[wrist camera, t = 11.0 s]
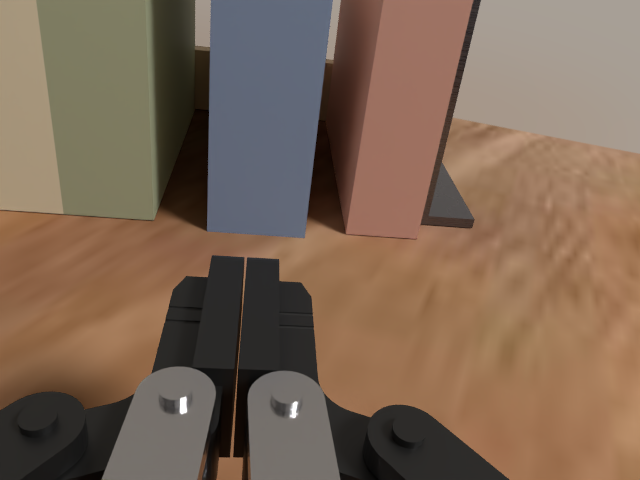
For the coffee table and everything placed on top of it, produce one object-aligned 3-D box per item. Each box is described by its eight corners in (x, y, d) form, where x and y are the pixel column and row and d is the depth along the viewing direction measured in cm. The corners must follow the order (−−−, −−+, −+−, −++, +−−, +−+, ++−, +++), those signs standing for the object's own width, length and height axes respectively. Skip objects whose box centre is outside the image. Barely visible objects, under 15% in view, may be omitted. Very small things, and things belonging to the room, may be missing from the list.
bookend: (411, 223, 30) (463, -9, 24) (377, 135, 40) (409, -42, 34) (471, 228, 30) (537, 0, 24) (423, 139, 40) (461, -35, 34)
